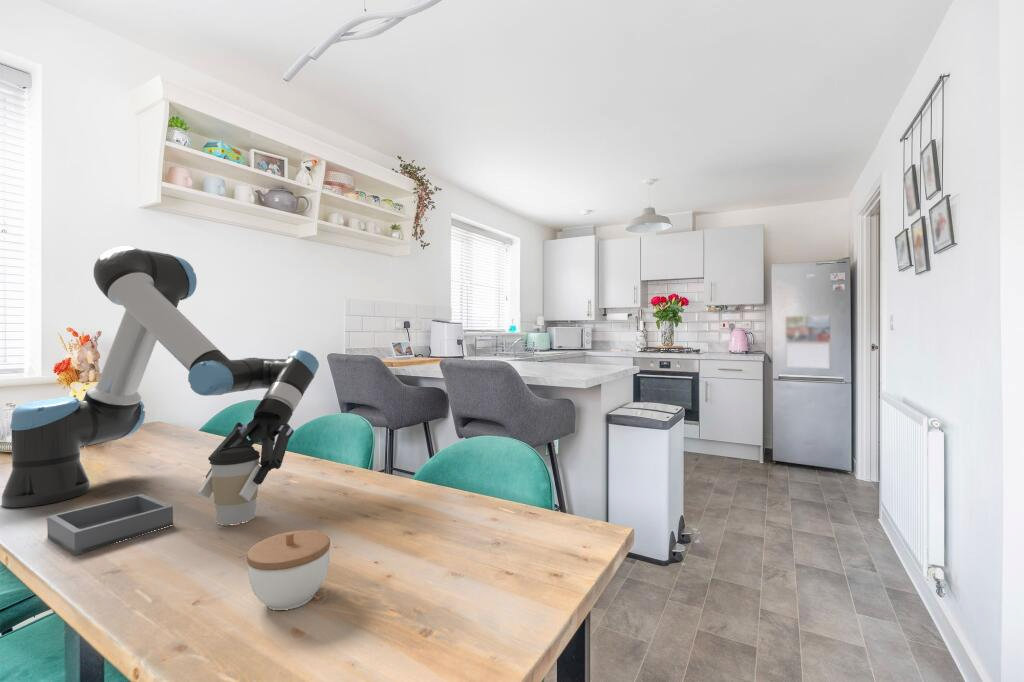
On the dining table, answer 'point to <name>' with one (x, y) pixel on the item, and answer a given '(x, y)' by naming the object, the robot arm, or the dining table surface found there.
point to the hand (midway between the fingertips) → (223, 496)
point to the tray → (108, 523)
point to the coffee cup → (233, 483)
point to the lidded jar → (288, 568)
